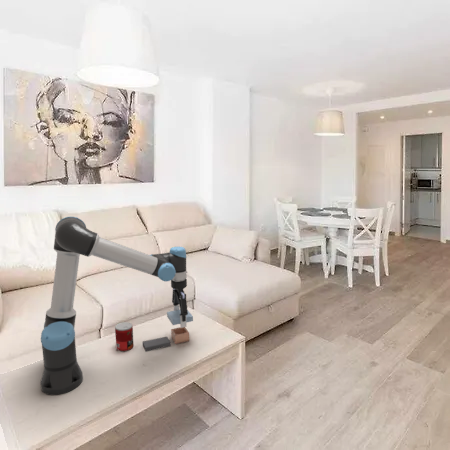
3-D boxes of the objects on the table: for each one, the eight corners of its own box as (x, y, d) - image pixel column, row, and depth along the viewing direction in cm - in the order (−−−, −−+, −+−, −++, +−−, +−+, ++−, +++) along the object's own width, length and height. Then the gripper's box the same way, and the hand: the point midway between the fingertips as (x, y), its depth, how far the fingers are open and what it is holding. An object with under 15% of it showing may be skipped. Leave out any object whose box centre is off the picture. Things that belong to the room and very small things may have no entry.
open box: (175, 344, 167) (175, 335, 166) (171, 337, 173) (171, 329, 173) (189, 341, 170) (189, 332, 169) (184, 334, 176) (184, 326, 176)
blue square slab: (172, 325, 163) (172, 320, 163) (167, 316, 172) (166, 312, 172) (193, 321, 167) (192, 316, 167) (186, 313, 176) (186, 308, 176)
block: (145, 351, 161) (145, 347, 160) (142, 345, 166) (142, 341, 166) (170, 345, 166) (170, 342, 165) (167, 340, 171) (167, 336, 171)
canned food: (131, 351, 161) (129, 329, 159) (113, 351, 161) (112, 329, 159) (135, 343, 168) (134, 322, 166) (119, 342, 168) (117, 321, 166)
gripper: (194, 285, 158) (195, 330, 162) (179, 271, 178) (180, 311, 182) (178, 288, 154) (179, 334, 159) (164, 273, 175) (166, 314, 179)
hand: (180, 322), depth 170 cm, fingers closed on blue square slab, 10 cm apart
